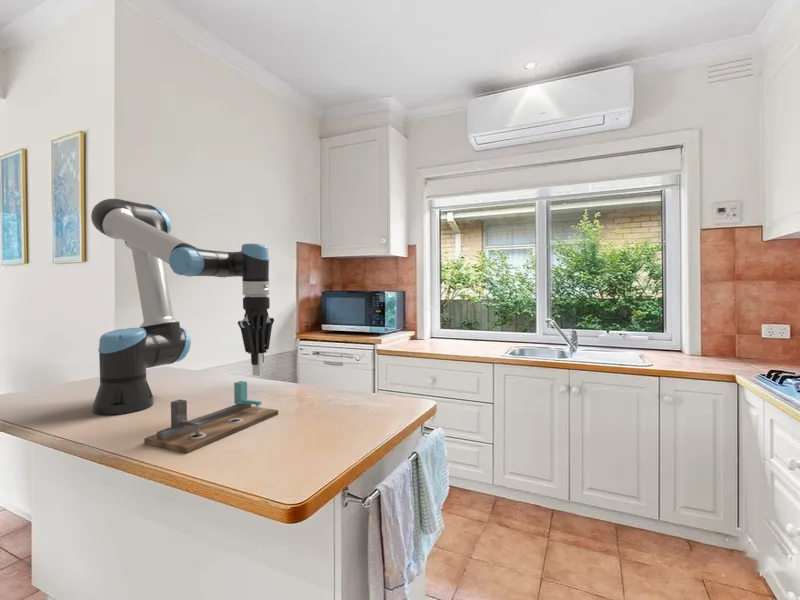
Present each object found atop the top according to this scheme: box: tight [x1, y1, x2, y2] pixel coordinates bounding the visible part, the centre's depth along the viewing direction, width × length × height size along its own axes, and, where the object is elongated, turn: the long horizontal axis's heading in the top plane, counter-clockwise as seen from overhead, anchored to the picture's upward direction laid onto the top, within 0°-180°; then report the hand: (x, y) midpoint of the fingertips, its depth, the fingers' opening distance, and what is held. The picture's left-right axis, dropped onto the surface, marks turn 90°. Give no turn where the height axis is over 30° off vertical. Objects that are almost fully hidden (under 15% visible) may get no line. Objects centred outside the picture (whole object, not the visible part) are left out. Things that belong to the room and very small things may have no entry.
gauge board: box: [143, 399, 279, 454], centre depth 107 cm, size 14×30×9 cm, turn 157°
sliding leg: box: [233, 380, 262, 411], centre depth 118 cm, size 8×2×7 cm, turn 67°
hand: (257, 374), depth 124 cm, fingers closed
